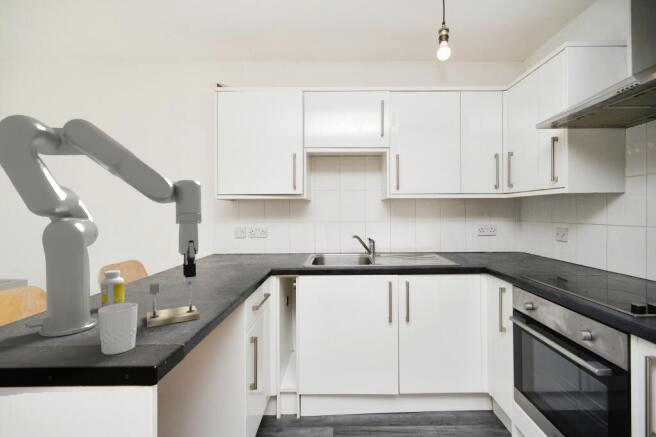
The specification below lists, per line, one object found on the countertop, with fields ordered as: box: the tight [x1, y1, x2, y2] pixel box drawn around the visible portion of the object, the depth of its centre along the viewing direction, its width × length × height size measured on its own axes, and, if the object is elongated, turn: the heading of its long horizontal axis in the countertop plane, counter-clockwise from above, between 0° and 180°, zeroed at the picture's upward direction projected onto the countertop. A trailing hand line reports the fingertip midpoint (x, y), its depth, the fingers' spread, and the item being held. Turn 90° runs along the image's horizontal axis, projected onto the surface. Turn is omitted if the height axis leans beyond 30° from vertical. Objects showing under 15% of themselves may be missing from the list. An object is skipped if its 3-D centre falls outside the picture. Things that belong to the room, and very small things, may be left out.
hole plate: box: [146, 304, 200, 328], centre depth 98 cm, size 14×11×2 cm
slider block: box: [183, 263, 196, 310], centre depth 100 cm, size 3×4×14 cm
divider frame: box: [148, 280, 197, 316], centre depth 97 cm, size 13×3×9 cm, turn 121°
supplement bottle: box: [100, 269, 125, 308], centre depth 109 cm, size 7×7×13 cm
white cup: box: [97, 302, 139, 355], centre depth 75 cm, size 8×8×10 cm
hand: (189, 275), depth 100 cm, fingers closed on slider block, 3 cm apart
